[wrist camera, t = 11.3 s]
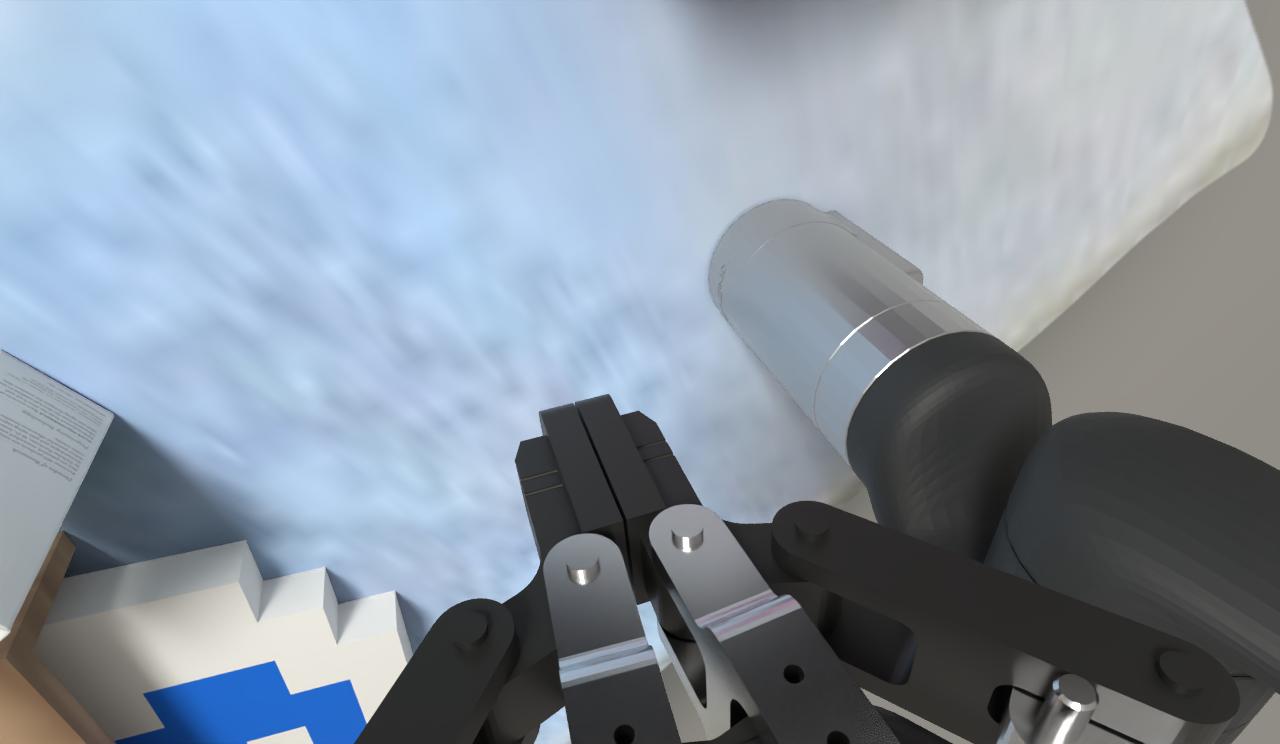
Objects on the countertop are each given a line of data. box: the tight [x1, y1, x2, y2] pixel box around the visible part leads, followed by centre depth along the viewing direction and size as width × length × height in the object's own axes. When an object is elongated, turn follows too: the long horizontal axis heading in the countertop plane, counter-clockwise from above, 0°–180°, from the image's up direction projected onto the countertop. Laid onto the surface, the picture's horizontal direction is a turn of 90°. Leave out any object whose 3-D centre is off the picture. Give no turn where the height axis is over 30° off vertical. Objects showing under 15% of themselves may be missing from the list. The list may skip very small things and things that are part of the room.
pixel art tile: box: [33, 540, 413, 744], centre depth 53 cm, size 28×4×28 cm
